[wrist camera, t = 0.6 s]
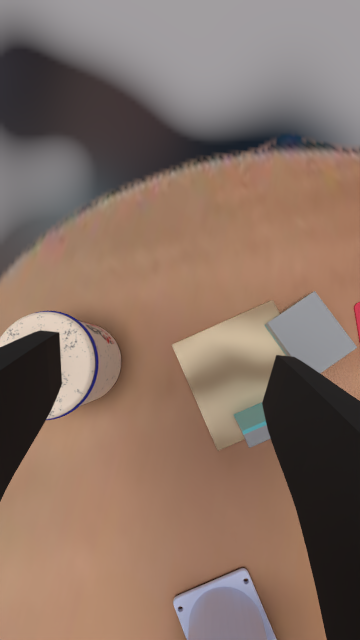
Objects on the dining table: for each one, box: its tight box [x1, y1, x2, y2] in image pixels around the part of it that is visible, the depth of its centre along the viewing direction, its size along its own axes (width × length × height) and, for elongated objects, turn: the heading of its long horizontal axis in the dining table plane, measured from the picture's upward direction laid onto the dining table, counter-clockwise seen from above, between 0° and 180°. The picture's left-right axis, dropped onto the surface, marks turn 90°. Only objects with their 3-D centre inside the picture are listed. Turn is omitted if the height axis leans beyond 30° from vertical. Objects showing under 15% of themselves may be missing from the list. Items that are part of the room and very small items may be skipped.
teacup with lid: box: [0, 311, 121, 420], centre depth 28 cm, size 12×9×12 cm
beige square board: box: [172, 300, 286, 451], centre depth 32 cm, size 12×12×1 cm
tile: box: [234, 402, 271, 448], centre depth 28 cm, size 1×6×7 cm, turn 114°
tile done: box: [264, 291, 357, 373], centre depth 31 cm, size 7×6×1 cm
